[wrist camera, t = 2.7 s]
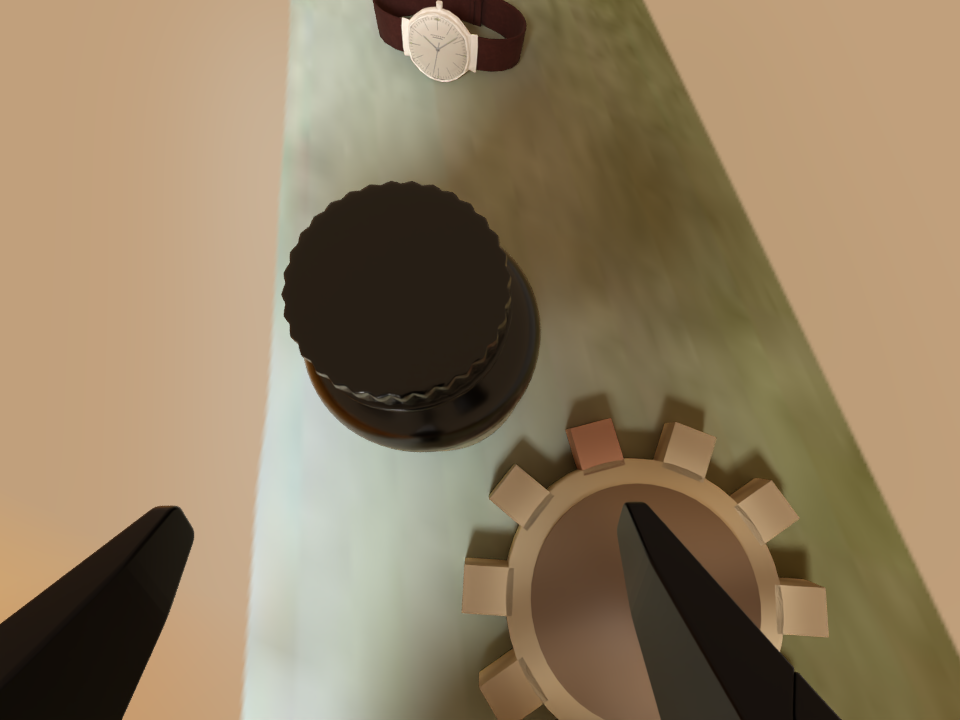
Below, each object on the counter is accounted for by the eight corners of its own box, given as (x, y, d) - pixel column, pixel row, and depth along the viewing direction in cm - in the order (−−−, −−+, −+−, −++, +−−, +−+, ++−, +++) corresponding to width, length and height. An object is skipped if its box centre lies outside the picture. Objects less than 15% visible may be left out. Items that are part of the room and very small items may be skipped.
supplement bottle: (530, 315, 22) (589, 161, 10) (508, 461, 20) (544, 488, 9) (387, 292, 22) (275, 115, 10) (357, 436, 21) (189, 427, 9)
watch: (369, 69, 24) (349, 4, 21) (396, -4, 25) (382, -78, 21) (510, 103, 24) (515, 44, 20) (533, 29, 25) (541, -41, 21)
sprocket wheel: (858, 729, 18) (889, 752, 17) (516, 832, 18) (519, 865, 16) (734, 384, 21) (752, 380, 20) (430, 465, 20) (426, 467, 19)
